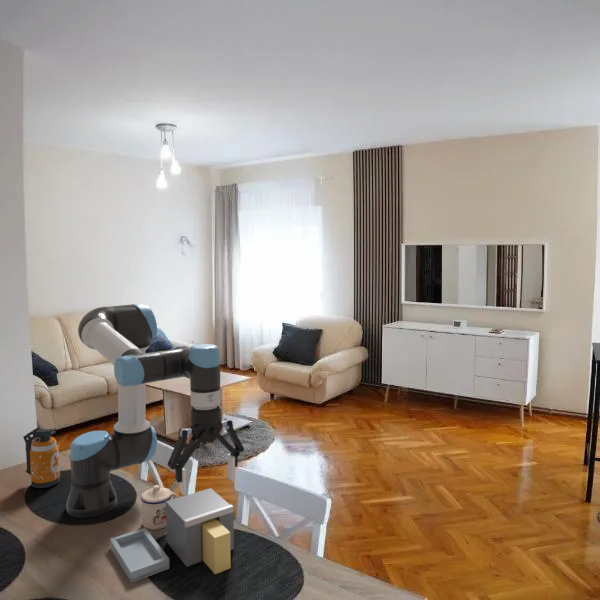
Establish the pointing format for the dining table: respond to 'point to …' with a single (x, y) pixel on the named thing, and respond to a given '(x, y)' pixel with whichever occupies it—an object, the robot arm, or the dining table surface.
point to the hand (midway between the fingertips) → (207, 486)
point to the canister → (42, 458)
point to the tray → (139, 554)
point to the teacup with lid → (155, 507)
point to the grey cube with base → (195, 522)
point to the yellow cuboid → (215, 545)
